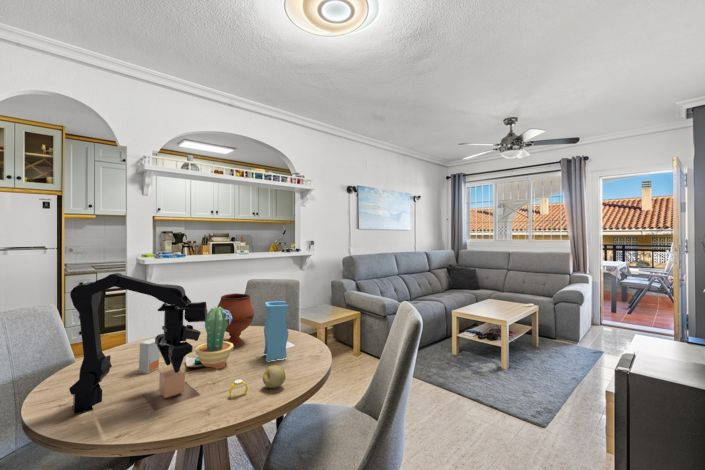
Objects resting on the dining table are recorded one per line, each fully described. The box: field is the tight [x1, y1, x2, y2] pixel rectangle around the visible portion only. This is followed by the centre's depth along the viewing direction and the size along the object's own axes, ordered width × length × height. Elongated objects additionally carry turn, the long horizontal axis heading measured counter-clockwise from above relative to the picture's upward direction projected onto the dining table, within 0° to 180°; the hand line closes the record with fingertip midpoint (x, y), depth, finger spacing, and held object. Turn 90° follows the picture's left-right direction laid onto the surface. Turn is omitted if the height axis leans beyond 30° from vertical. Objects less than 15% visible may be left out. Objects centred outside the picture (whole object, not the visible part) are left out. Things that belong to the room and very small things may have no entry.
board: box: [141, 381, 201, 411], centre depth 108 cm, size 14×14×1 cm
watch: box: [228, 378, 249, 399], centre depth 109 cm, size 6×3×6 cm, turn 124°
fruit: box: [262, 365, 287, 389], centre depth 117 cm, size 8×8×8 cm
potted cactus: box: [195, 306, 234, 370], centre depth 136 cm, size 15×15×25 cm
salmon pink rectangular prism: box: [158, 368, 186, 398], centre depth 108 cm, size 6×6×7 cm
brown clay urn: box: [216, 292, 255, 348], centre depth 164 cm, size 19×19×25 cm
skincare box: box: [138, 338, 160, 375], centre depth 130 cm, size 6×4×12 cm
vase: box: [263, 300, 290, 361], centre depth 147 cm, size 10×10×25 cm
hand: (172, 368), depth 108 cm, fingers open, 8 cm apart
